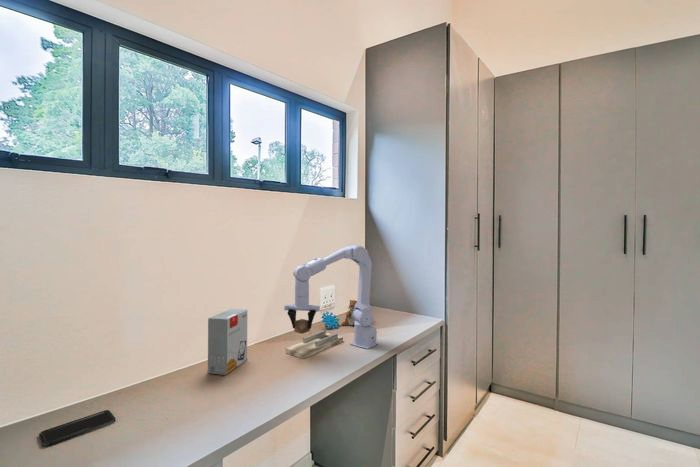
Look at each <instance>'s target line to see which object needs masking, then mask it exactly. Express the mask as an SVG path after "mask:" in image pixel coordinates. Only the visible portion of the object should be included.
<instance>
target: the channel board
mask: <svg viewBox="0 0 700 467" xmlns="http://www.w3.org/2000/svg"><path fill="white" fill-rule="evenodd" d="M343 342H344V337H343V336H339V334H338V333H337V332H336V333H334V334H333V333H329V332H327V330H322V331H318V332H316V333H314V334H311V335H308V336H305V337H303V338H302V341H301V342H299V343H295V344H294V345H290V346H288V347H285V354H287V355H290V356H294V357H296V358H299V359H303V360H304V359H306V358H309V357H311V356H313V355H315V354H318V353H320V352H321V351H325V350H327V349H329V348H332V347H333V346H336V345H338V344H340V343H343Z"/></svg>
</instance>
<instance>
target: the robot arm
mask: <svg viewBox="0 0 700 467" xmlns="http://www.w3.org/2000/svg"><path fill="white" fill-rule="evenodd" d="M342 259H348V260H352V261H353V262H354V263H356V265H357V266H358V267H359V268H358V269H359V271H358V286H357V289H358V290H357V300H356V301H357V303H356V304H355V308H354V310H353V313H352V316H353V318H354V320H355V323H354V326H353V327H354V328H353V329H354V330H353V331H354V332H353V333H354V338H353V339H354V341H353V342H350V345H352V346H355V347H359V348H362V349H366V350H368V349H371V348H373V347H375V346H376V344H377V345H378V342H377V341H378V340H377V339H378V338H377V335H378V334H377V332H378V331H377V328H376V327H375V326H373V325H372V323H373V321H374V314H373V308H372V306H371V305H370V298H371V297H370V296H371V282H372V281H371V280H372V269H373V268H372V267H373V266H372V265H373V262H372V261H371V260H372V259H371V258H370V256H369V250H367V249H366V248H365V247H363V246H361V245H356V244H355V245H354V244H349V245H348V246H345V247H342V248H340V249H339V250H337V251H334V252H333V253H330V254H329V255H328V256H326V257H324V258H323V257H314V258H313V260H311V261H308V262H304V263H302V264H303V265H298V266H296V267H295V268H294V270H293V277H294V278H295V279H294V280H295V281H294V300H295V301H294V304H285V305H284V309H283V310H284V311H287V313H286V314H287V315H288V317H289V319H290V321H291V327H292V329H294V321H296V320H297V311H305V312H306V311H307V320H308V329H310V330H311V329H312V325H313V321H314V318H315V315H316V313H317V312H320V311H321V308H320V307H321V306H320V305H313V304H310V284H309V281H310V278H311V277H312V276H315V275H317V274H319V273H321V272H323V271H325V270H326V268H327V266H328V265H331V264H333V263H336V262H338V261H340V260H342Z"/></svg>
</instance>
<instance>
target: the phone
mask: <svg viewBox="0 0 700 467" xmlns="http://www.w3.org/2000/svg"><path fill="white" fill-rule="evenodd" d="M114 422H115V423H116V417H115V416H114V415H113V413H112V412H111V411H110V410H109V409H105V410H102V411H99V412H96V413H93V414H89V415H87V416H84V417H81V418H77V419H75V420H71V421H70V422H69V421H68V422H66V423H62V424H60V425H57V426H53V427H51V428H48V429H44V430H42V431H40V432H39V433H38V438H40V439H39V442H40V444H41V447H42V448H44V447H46V448H50V447H52V445H53V446H55V445H57V444H61V443H64V442H65V441H69V440H71V438H72V439H74V437H75V438H77V437H79V436H82V435H86V434H88V433H91V432H93V431H96V430H99V429H102V428H104V427H107V426H111V425H113V424H115V423H114ZM68 439H69V440H68ZM63 441H64V442H63ZM49 446H50V447H49Z"/></svg>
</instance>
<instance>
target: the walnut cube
mask: <svg viewBox="0 0 700 467" xmlns="http://www.w3.org/2000/svg"><path fill="white" fill-rule="evenodd" d="M293 329H294V330H293V331H294V332H295V333H298V334H305V333H309V332H310V330H311V329H308V319H305V318H300V319H296V321H294V328H293Z"/></svg>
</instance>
